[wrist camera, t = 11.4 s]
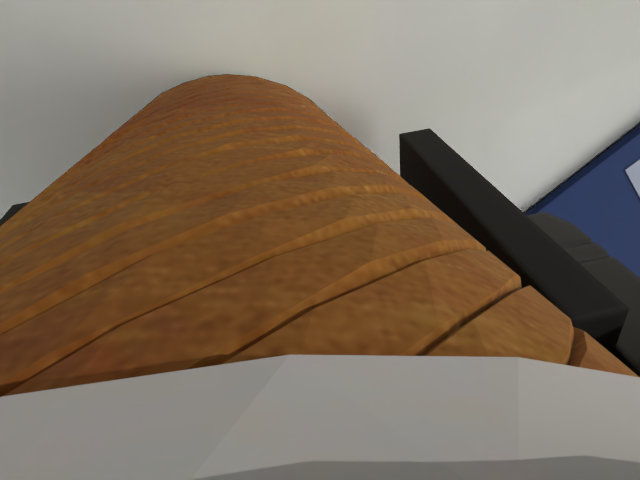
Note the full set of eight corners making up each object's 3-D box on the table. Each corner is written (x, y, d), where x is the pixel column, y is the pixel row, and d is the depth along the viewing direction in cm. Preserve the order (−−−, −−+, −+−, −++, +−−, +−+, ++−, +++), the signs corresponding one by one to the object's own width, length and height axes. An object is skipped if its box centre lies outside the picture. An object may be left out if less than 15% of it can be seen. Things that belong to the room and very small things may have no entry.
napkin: (204, 461, 18) (204, 469, 18) (662, 106, 13) (672, 109, 13) (460, 558, 28) (462, 564, 28) (779, 381, 23) (786, 387, 22)
